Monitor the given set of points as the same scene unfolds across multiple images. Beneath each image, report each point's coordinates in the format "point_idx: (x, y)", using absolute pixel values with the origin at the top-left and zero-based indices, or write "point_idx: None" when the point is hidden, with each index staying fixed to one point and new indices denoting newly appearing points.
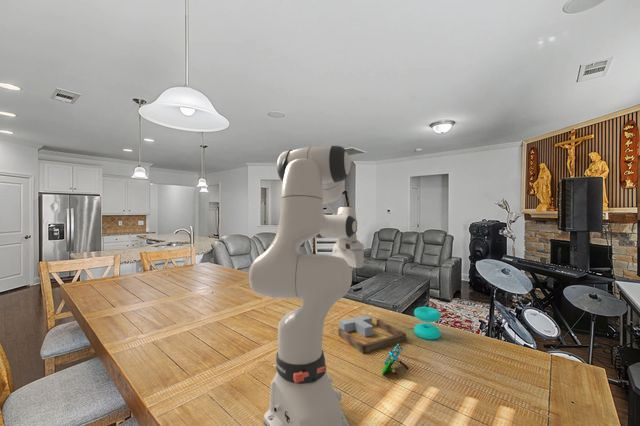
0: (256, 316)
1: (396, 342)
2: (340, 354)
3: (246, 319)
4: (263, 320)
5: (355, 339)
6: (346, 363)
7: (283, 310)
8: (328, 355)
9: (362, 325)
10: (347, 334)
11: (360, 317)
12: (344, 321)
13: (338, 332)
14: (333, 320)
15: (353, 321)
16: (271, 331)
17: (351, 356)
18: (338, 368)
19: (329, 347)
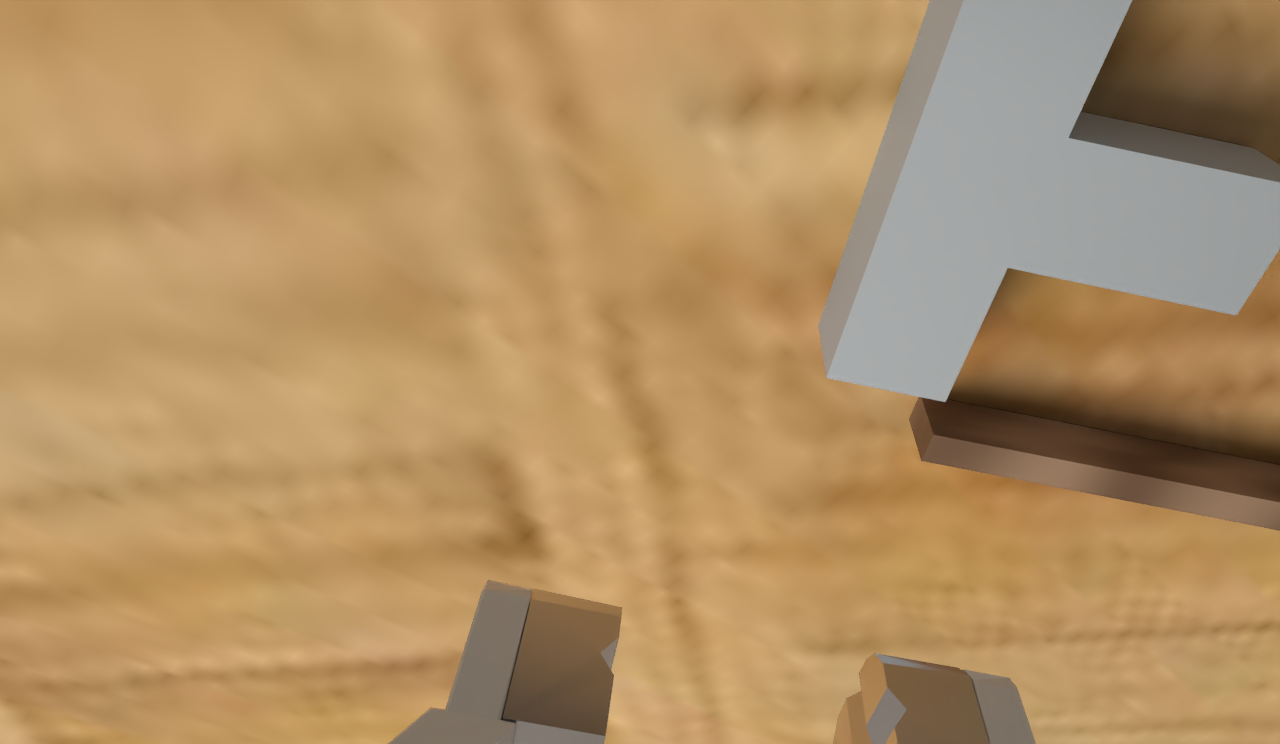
0: (107, 649)
1: None
2: (1143, 603)
3: (146, 711)
4: (221, 651)
5: (1219, 499)
6: (1253, 646)
7: (25, 440)
8: (1070, 656)
9: (1165, 277)
10: (1086, 482)
11: (980, 77)
12: (889, 346)
13: (916, 436)
14: (582, 212)
15: (983, 265)
16: None
17: (1241, 574)
18: (1232, 702)
19: (999, 592)
